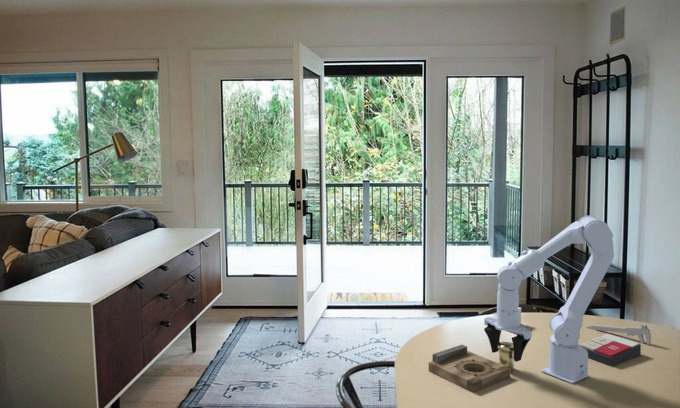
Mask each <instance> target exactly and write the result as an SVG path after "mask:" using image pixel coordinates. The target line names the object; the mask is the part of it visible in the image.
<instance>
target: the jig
mask: <svg viewBox="0 0 680 408" xmlns="http://www.w3.org/2000/svg"><path fill="white" fill-rule="evenodd" d="M428 372H430V373H432V374H434V375H436V376H437V377H440V378H443V379H445V380H446V381H448V382H451V383H453V384H455V385H457V386H459V387H461V388H464V389H466V390H467V391H469V392H471V393H474V392H477V391H478V390H482V389H484V388H487V387H489V386H492V385H494V384H496V383H499V382H502V381H504V380H507V379H509V378H511V372H510V368H509V367H506V366H504V365H501V364H499V362H496V361H494V360H491V359H488V358H487V357H485V356H481V355H479V354H476V353H474V352H472V351H469V350H468V346H466V345H464V344H459V345H456V346H453V347H450V348H448V349H444V350H442V351H441V350H440V351H438V352H434V353H432V360H430V361H429V362H428Z"/></svg>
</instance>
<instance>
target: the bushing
mask: <svg viewBox="0 0 680 408" xmlns="http://www.w3.org/2000/svg"><path fill="white" fill-rule="evenodd" d="M497 348H498V349H499V351H498V353H499V354H498V363H499V364H501V365H504V366H506V367H509V368H510V373H511V372H514V367H515V366H514V365H515V361H514V346H513V342H512V341H499V343H498V346H497Z"/></svg>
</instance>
